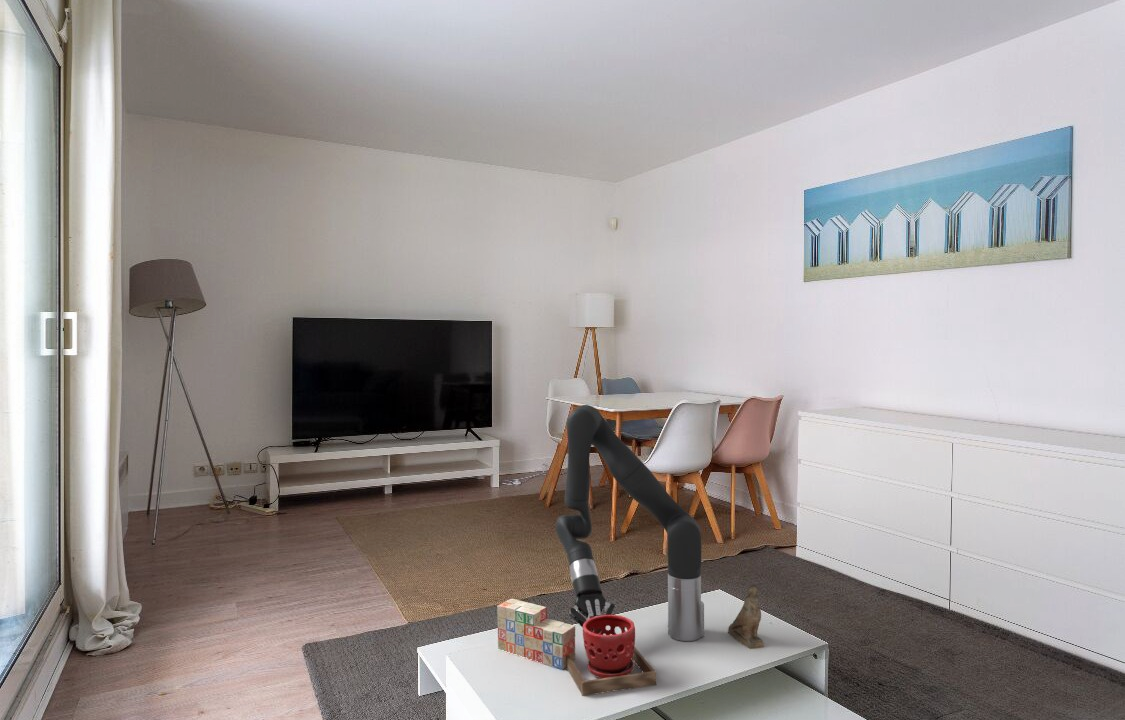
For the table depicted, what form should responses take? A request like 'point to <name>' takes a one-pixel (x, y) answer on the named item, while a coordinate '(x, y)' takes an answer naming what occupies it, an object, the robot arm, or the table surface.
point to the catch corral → (614, 678)
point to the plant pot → (609, 645)
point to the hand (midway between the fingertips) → (599, 642)
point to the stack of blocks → (534, 633)
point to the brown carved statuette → (748, 621)
